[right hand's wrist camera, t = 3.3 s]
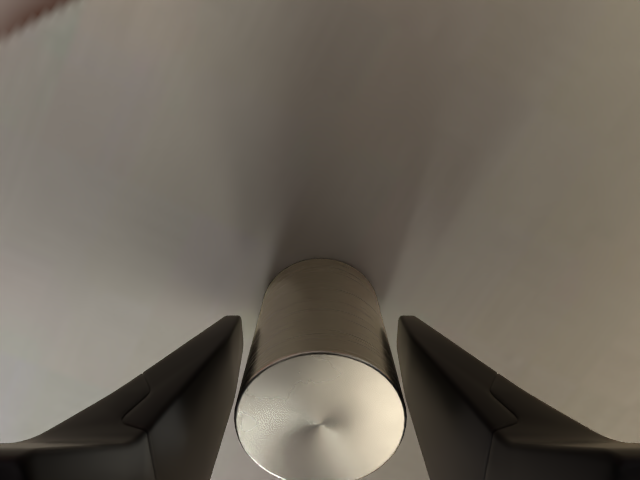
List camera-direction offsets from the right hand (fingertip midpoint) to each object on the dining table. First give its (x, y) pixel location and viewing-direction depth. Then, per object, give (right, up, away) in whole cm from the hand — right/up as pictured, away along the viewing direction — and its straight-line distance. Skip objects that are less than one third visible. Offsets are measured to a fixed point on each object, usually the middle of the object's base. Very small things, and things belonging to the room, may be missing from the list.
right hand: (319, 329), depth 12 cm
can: (0, 0, +1) cm, 1 cm away
